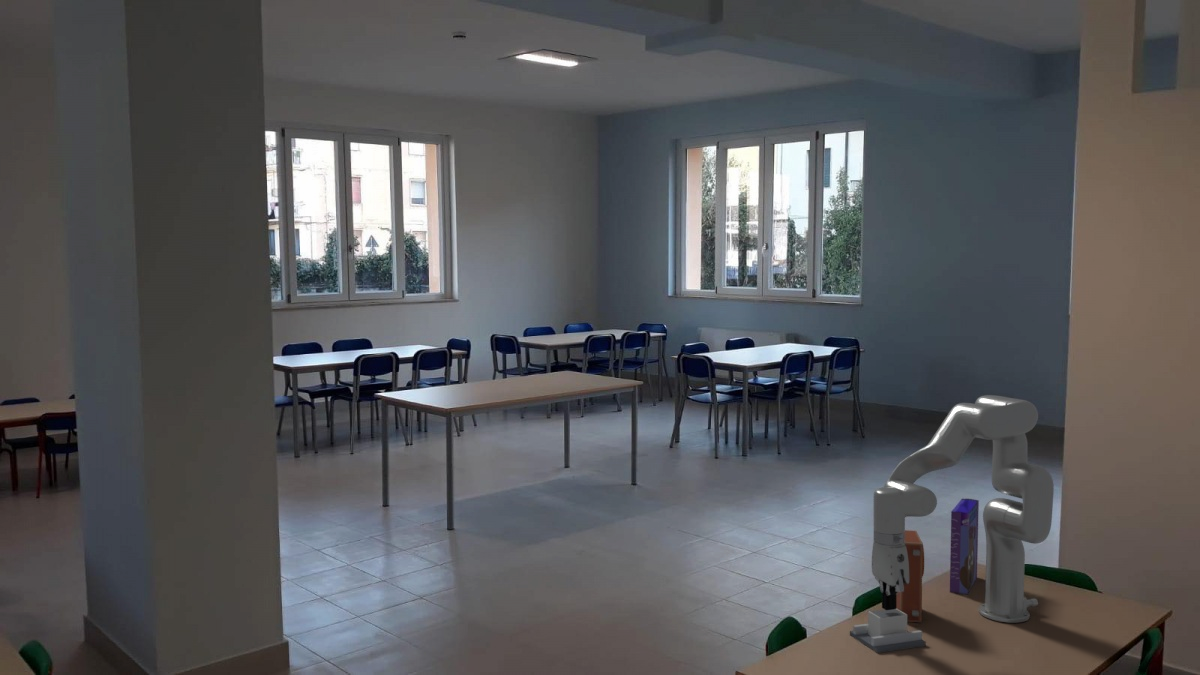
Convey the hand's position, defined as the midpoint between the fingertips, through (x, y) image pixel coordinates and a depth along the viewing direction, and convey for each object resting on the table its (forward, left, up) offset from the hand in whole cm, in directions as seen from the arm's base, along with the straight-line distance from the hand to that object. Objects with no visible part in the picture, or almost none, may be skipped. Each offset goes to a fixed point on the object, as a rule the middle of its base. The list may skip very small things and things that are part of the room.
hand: (889, 608), depth 235 cm
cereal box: (-45, -29, -8) cm, 54 cm away
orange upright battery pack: (-16, -14, -8) cm, 22 cm away
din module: (0, 0, -7) cm, 7 cm away
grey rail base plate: (0, 0, -8) cm, 8 cm away
